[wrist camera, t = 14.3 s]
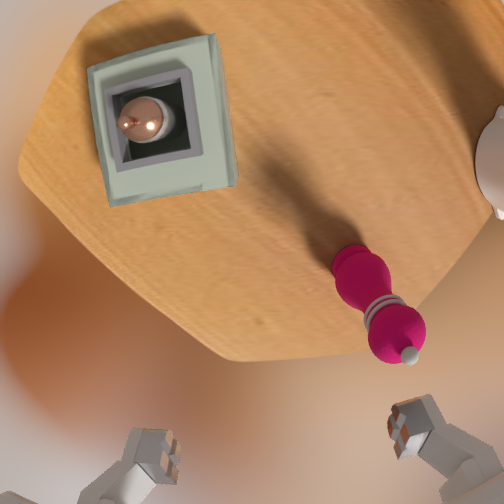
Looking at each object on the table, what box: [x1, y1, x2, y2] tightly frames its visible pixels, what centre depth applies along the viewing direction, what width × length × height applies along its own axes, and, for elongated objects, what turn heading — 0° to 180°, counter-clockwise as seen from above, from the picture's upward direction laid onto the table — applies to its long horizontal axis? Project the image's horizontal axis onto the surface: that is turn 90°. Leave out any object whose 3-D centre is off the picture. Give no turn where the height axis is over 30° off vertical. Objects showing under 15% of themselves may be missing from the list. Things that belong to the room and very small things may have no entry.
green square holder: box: [87, 33, 239, 207], centre depth 30 cm, size 14×16×9 cm
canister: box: [116, 96, 187, 143], centre depth 28 cm, size 4×4×12 cm
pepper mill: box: [332, 245, 426, 365], centre depth 32 cm, size 7×7×20 cm
